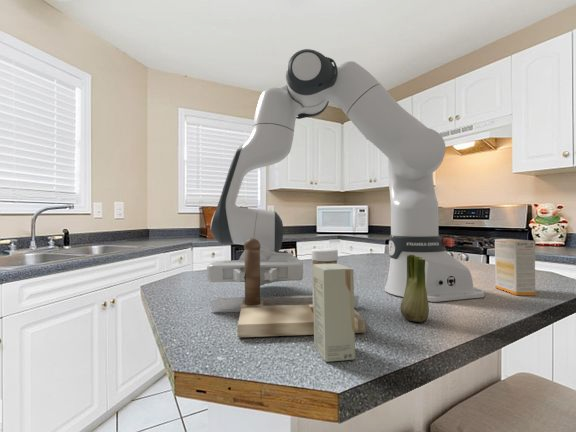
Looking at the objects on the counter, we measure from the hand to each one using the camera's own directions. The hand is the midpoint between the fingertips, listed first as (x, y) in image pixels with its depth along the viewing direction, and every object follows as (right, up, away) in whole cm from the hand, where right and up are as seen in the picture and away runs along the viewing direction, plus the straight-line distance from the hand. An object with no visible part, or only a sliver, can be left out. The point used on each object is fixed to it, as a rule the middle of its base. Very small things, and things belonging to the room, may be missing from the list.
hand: (254, 277), depth 61 cm
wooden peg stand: (+8, -7, -3) cm, 11 cm away
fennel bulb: (+30, -8, -3) cm, 31 cm away
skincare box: (+13, -8, -16) cm, 22 cm away
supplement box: (+63, -7, +18) cm, 66 cm away
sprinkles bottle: (+13, -8, -5) cm, 16 cm away
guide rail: (+6, -8, +5) cm, 11 cm away
